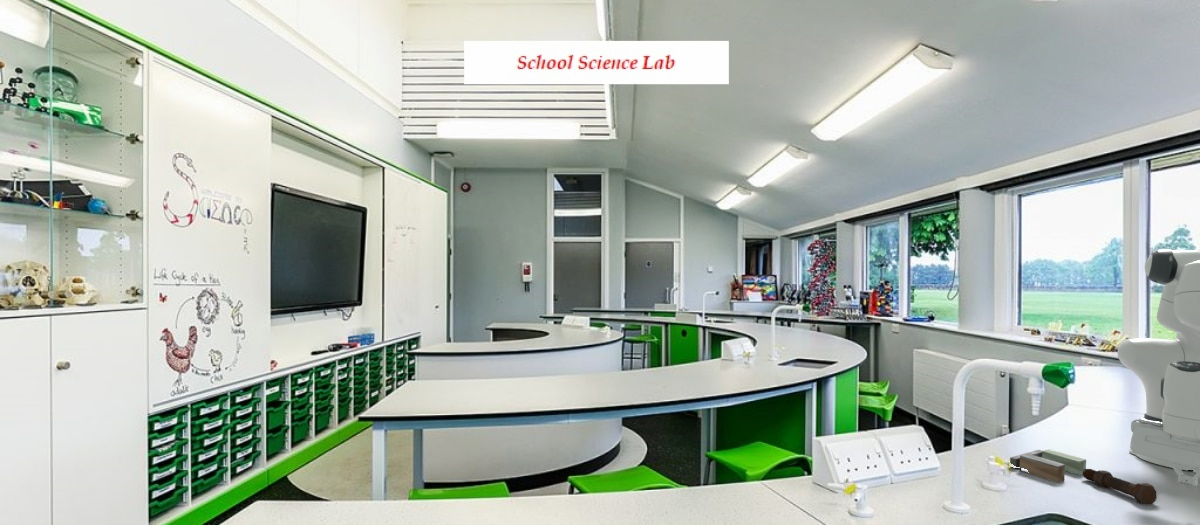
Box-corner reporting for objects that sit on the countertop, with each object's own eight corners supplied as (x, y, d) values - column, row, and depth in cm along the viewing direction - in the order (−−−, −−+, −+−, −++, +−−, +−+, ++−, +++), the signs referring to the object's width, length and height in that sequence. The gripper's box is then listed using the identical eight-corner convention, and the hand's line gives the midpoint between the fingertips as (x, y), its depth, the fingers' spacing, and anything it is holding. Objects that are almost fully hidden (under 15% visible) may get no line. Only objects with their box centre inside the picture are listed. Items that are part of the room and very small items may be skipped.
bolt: (1088, 486, 146) (1151, 510, 131) (1075, 478, 146) (1136, 500, 131) (1097, 468, 147) (1160, 490, 132) (1084, 459, 146) (1146, 480, 131)
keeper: (1038, 459, 161) (1039, 444, 161) (1085, 473, 151) (1086, 457, 151) (1009, 467, 154) (1010, 452, 154) (1057, 482, 143) (1057, 466, 143)
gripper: (1126, 417, 135) (1125, 470, 135) (1248, 442, 117) (1247, 503, 116) (1136, 415, 138) (1134, 466, 138) (1257, 439, 119) (1256, 498, 119)
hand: (1187, 483), depth 127 cm, fingers closed
